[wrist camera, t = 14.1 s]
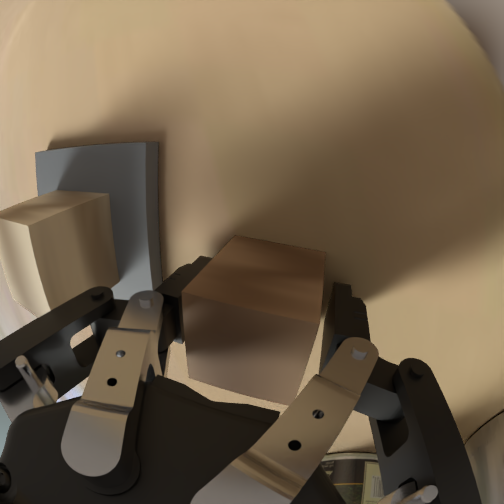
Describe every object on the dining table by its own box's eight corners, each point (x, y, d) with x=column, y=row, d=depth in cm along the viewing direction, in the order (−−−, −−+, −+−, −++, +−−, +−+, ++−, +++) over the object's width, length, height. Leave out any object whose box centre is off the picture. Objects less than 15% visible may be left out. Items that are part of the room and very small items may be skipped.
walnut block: (325, 252, 11) (319, 323, 7) (308, 325, 13) (292, 405, 9) (235, 235, 12) (181, 291, 8) (231, 308, 14) (188, 377, 9)
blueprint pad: (158, 141, 11) (145, 142, 10) (166, 319, 15) (157, 328, 15) (46, 150, 13) (35, 152, 12) (64, 280, 18) (55, 285, 17)
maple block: (109, 193, 12) (28, 225, 7) (119, 281, 14) (58, 331, 10) (56, 190, 13) (-10, 215, 9) (67, 263, 15) (13, 299, 11)
